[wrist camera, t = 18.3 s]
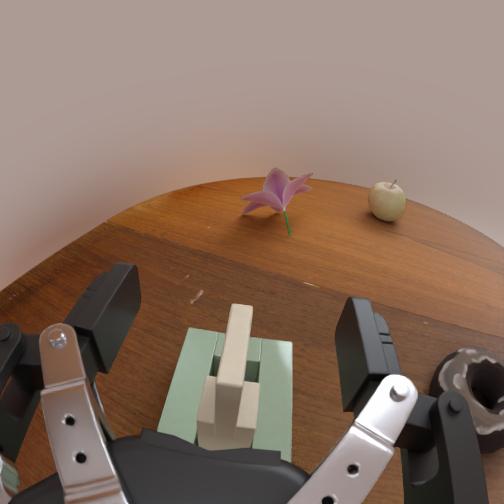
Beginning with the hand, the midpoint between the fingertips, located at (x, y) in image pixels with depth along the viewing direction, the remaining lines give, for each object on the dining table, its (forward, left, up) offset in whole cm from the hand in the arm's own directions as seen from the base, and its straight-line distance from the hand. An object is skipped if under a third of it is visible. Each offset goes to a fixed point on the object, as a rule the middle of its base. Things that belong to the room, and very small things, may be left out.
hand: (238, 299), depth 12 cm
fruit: (+37, +34, -14) cm, 53 cm away
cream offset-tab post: (-1, -2, -14) cm, 14 cm away
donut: (+22, -5, -14) cm, 27 cm away
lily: (+14, +32, -14) cm, 38 cm away
